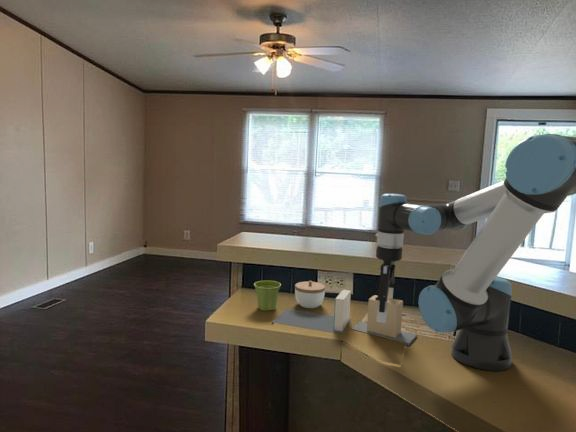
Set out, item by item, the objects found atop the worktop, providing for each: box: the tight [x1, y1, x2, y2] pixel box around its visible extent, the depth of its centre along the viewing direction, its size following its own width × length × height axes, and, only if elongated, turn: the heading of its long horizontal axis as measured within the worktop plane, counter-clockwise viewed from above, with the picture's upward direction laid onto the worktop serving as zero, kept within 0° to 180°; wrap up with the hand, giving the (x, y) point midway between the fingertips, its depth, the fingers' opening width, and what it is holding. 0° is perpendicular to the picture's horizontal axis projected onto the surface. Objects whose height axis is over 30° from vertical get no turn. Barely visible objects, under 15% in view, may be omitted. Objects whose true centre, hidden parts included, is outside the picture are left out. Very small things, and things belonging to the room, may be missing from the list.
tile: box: [333, 289, 352, 331], centre depth 141 cm, size 3×10×10 cm, turn 160°
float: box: [351, 294, 417, 347], centre depth 136 cm, size 18×8×11 cm, turn 59°
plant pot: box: [253, 280, 282, 312], centre depth 156 cm, size 9×9×9 cm
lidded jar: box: [294, 280, 326, 309], centre depth 159 cm, size 11×11×9 cm
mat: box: [271, 308, 353, 335], centre depth 144 cm, size 23×14×1 cm, turn 70°
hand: (384, 314), depth 136 cm, fingers open, 13 cm apart
